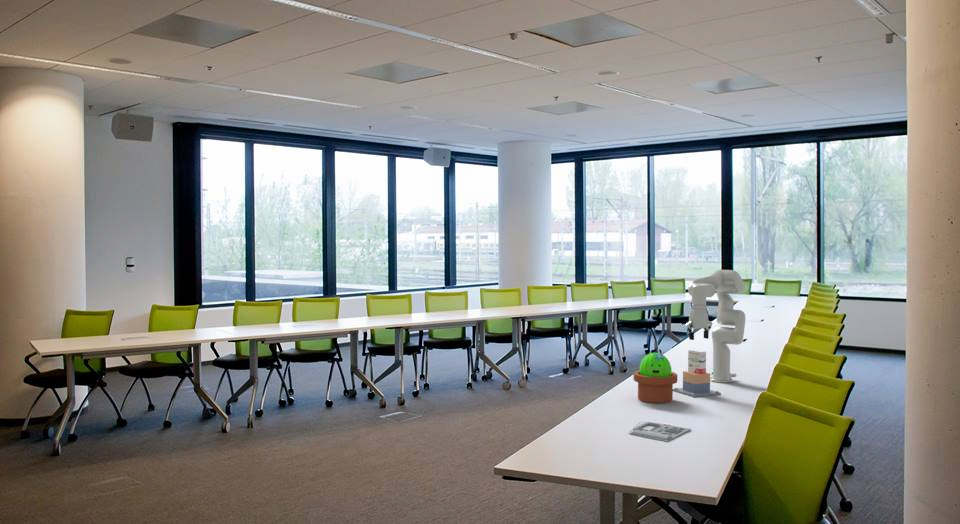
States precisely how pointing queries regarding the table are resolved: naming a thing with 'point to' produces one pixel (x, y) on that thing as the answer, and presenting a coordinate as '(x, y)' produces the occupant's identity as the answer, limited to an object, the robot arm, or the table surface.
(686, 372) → the studded square plate
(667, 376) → the potted cactus
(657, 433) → the grey flat panel
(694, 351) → the ink box
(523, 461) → the table surface
